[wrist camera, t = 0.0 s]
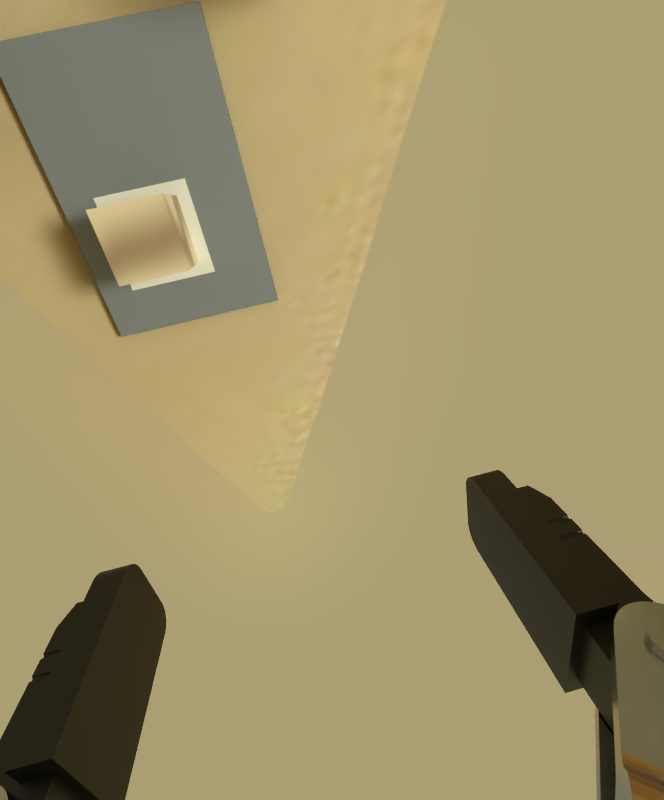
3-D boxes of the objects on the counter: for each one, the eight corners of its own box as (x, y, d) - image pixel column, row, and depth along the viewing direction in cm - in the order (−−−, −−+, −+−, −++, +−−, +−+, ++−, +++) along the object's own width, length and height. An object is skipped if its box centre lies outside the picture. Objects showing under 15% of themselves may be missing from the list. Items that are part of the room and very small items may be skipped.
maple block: (112, 209, 30) (85, 210, 26) (176, 195, 30) (161, 193, 26) (139, 275, 32) (119, 286, 28) (199, 262, 33) (188, 270, 28)
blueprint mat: (-10, 47, 26) (-16, 43, 25) (200, 5, 26) (199, 0, 26) (123, 334, 35) (121, 337, 34) (277, 298, 36) (277, 300, 35)
